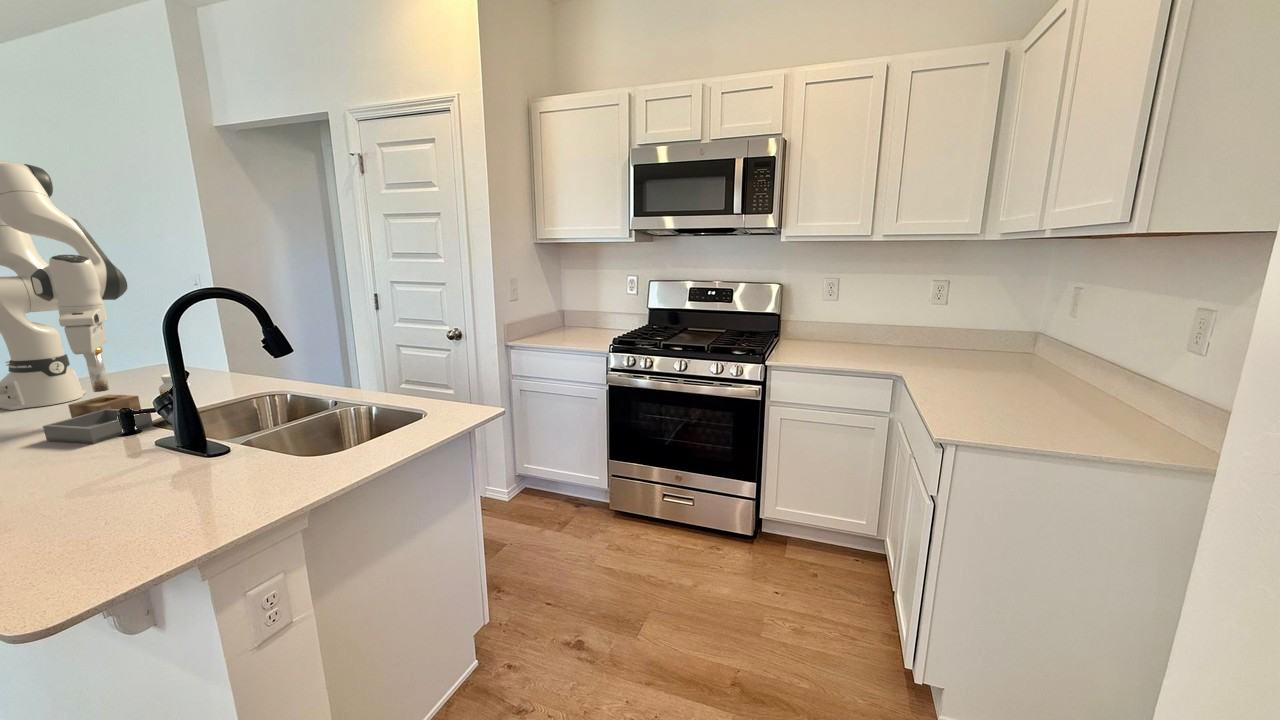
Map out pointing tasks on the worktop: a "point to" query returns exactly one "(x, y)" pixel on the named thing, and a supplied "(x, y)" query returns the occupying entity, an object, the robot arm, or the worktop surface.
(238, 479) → the worktop surface
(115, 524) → the worktop surface
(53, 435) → the tray
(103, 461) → the worktop surface
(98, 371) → the corked glass vial
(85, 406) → the socket block
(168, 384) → the supplement bottle
